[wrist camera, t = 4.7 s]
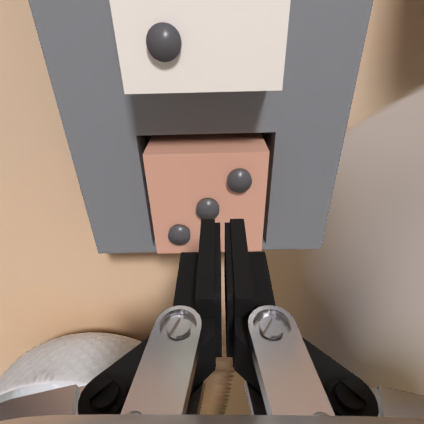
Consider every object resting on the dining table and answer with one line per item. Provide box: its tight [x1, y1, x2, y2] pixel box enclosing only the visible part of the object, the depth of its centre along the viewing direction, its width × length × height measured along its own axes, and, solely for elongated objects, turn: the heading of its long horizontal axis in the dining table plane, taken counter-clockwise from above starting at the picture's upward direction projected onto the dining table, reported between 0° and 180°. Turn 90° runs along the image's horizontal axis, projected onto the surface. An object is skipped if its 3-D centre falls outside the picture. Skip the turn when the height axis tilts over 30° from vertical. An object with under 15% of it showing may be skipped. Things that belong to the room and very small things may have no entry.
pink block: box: [143, 133, 270, 254], centre depth 18 cm, size 6×6×4 cm
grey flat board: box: [28, 0, 373, 253], centre depth 14 cm, size 14×26×3 cm, turn 1°
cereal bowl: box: [0, 332, 142, 403], centre depth 27 cm, size 17×17×7 cm
